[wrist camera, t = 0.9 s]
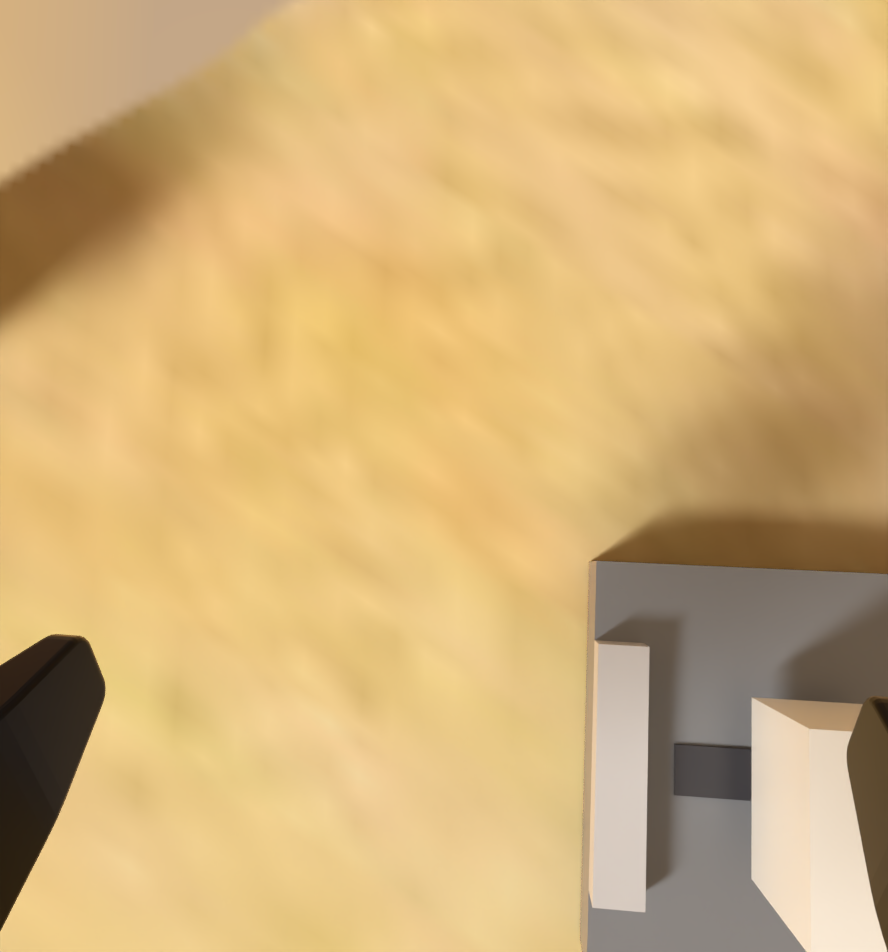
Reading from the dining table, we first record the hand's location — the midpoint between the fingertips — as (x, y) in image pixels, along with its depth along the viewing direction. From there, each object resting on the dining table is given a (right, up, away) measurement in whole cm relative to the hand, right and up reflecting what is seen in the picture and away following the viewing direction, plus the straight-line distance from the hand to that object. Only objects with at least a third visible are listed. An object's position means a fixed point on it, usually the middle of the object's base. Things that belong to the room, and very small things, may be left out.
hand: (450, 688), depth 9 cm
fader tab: (+8, -5, +9) cm, 14 cm away
